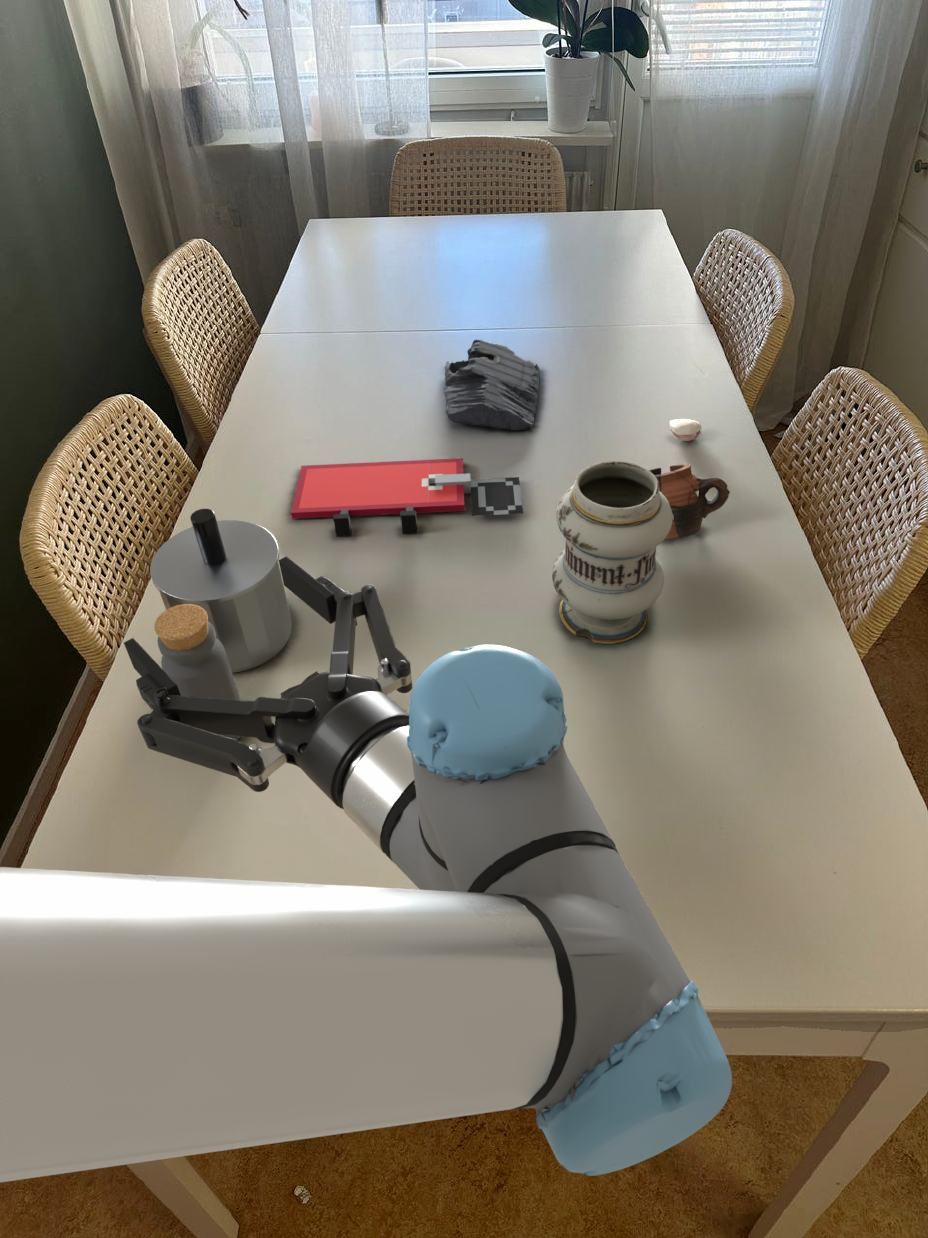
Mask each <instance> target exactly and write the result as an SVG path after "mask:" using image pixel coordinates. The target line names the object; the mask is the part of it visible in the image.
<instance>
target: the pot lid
mask: <svg viewBox="0 0 928 1238" xmlns="http://www.w3.org/2000/svg"><path fill="white" fill-rule="evenodd" d="M189 518H190V522H191V525H192V526H191V527H187V528H186V529H184V530H182V531H180V532H178V533H177V534H175V535H173V536H172V537H170V538H169V539H168V540H166V541H165V542H164V543H163V544H162V545H161V546H160V547H159V548H158V549H157V551H155V554H154V555H153V557H152V560H151V563H150V565H149V566H150V568H149V573H150V577H151V580H152V583H153V585H154V586H155V588H156V589H157V591H158V592H159V593H160V592H161V593H162V594H164V595H165V596H167V597H169V598H171V599H174V600H177V601H180V602H185V603H192V604H208V603H216V602H222V601H226V600H230V599H233V598H236V597H238V596H241V595H243V594H245V593H247V592H249V591H251V590H253V589H254V588H256V587H257V586H259V585H260V584H261V583H263V582H264V581H265V580H266V579H267V578H268V577H269V576H270V575H271V573H272V572H273V571H274V569H275V567H276V565H277V563H278V564H279V560H280V548H279V545H278V541H277V540H276V538H275V536H274V535H273V534H272V533H271V532H270V531H269V530H268V529H266V528H265V527H263V526H262V525H258V524H256V523H253V522H250V521H246V520H237V519H223V520H217V517H216V514H215V512H214V510H212V509H210V508H200V509H197V510H195V511H194V512H192V513H191V514H190V517H189Z"/></svg>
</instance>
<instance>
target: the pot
mask: <svg viewBox="0 0 928 1238" xmlns="http://www.w3.org/2000/svg"><path fill="white" fill-rule="evenodd" d="M159 594H160V597H161V599H162V603H163V605H164V608H165V611H166V610H167V609H169V608H171V607H174V606H177V605H182V604H192V603H185V602H180V601H177V600H174V599H171V598H169V597H167V596H165V595H164V594H162V593H161V592H160V591H159ZM194 605H198V606H200V607H202V608H203V609H204V610H205V611H206V613H207V615H208V621H209V622H210V623H211V624H212V626H213V627H214V630H215V633H216V639H218V640H219V641H220V642H221V643H222V645H223V647H224V649H225V652H226V655H227V658H228V661H229V664H230V667H231V671H232V674H234V673H240V672H241V673H242V672H244V671H245V672H246V671H248V670H252V669H254V668H257V667H259V666H261V665H263V664H266V663H267V662H268V661H270V660H271V659H273V658H275V657H276V656H277V655H278V654H279V653H280V652H281V651H282V650H283V649H284V648H285V646H286V645H287V644H288V642H289V640H290V638H291V634H292V630H293V629H292V628H293V622H292V619H291V612H290V608H289V603H288V600H287V595H286V591H285V586H284V583H283V578H282V574H281V569H280V565H279V562H278V563H277V565H276V567H275V569H274V571H273V572H272V573H271V575H270V576H269V577H268V578H267V579H266V580H265V581H264V582H263V583H261V584H260V585H259V586H257V587H256V588H254V589H253V590H251V591H249V592H247V593H245V594H243V595H241V596H238V597H236V598H233V599H230V600H226V601H222V602H216V603H208V604H194Z"/></svg>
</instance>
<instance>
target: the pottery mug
mask: <svg viewBox="0 0 928 1238" xmlns="http://www.w3.org/2000/svg"><path fill="white" fill-rule="evenodd" d="M648 470H649V471H650V472H652V473H653V474H654V475H655V476H656V478H657V480H658V482H659V489H660V492H661V493H662V494H663V495H664V496H665V497H666V499H667V500H668V502H669V504H670V507H671V510H672V515H673V521H672V526H671V529H670V532H669V533H668V535H667V537H666V538H665V539H664V540H663V541H665V540H666V541H667V540H668V541H669V540H674V539H679V538H683V537H689V536H692V535H695V534H697V533H698V532H700V531H701V528H702V527H701V526H702V524H703V523H702V522H703V519H706V517H707V516H709V514H712V513H714V512H716V511H718V510H719V509H721V508H722V507H723V506H724V505H725V503H726V502H727V501H728V499H729V496H730V493H731V492H730V490H729V488H728V484H727V482H726V481H725V480H724V479H722V478H720V477H719V476H718V477H717V476H711V477H699V476H696V475H695V474H693V472H692V465H691V464H689V463H688V464H675V465H670V466H669V471H668V472H663V473H662V467H655V468H653V469H648ZM712 489H716V495H715V496H714V497H713V498H712V499H711V500H709V499H707V497H706V495H707V493H708V492H709V491H710V490H712ZM697 492H698V494H697Z"/></svg>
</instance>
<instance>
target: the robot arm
mask: <svg viewBox="0 0 928 1238" xmlns="http://www.w3.org/2000/svg"><path fill="white" fill-rule="evenodd" d="M278 564H279V568H280V573H281V577H282V581H283V586H284V588H286V589H288V590H289V591H290V592H291V593H292V594H293V595H294V596H296V597H297V598H299V599H300V601H302V602H303V603H304V604H305V605H306V606H308V607H310V609H311V610H313V611H314V612H315V613H316V614H318V615H319V616H320V617H321V618H322V619H324V620H325V621H326V622H327V623H328V624H330V625H332V624H334V632H333V642H332V652H330V662H329V671H323V672H319V671H317V670H316V671H315V672H313V673H311V674H309V675H308V676H307V677H306V678H305V679H304V680H303V681H302V682H301V683H299V684H297V685H294V686H291V687H289V688H287V689H286V690H284V691H282V692H281V693H280V698H276V697H266V696H265V697H264V696H260V697H257V698H255V700H252V701H251V700H243V699H240V700H230V699H217V698H204V697H192V696H181V694H180V692H179V689H178V686H177V684H176V683H175V682H174V681H173V680H172V679H171V678H170V677H169V676H168V675H167V673H166V672H165V671H164V670H163V668H162V666H160V665H159V664H158V663H157V662H156V660H155V659H154V658H152V656H151V655H150V654H149V653H148V652H147V651H146V650H145V649H144V647H142V646H141V645H140V644H139V642H138V641H137V640H136V639H135V638H134V637H132V638H130V639H128V640H126V641H124V642H123V645H124V648H125V650H126V652H127V655H128V658H129V659H130V663H131V665H132V667H133V669H134V670H135V671H136V672H137V673H138V674H139V676H140V677H139V678H137V679H135V681H136V682H135V683H136V687H137V689H138V692H139V694H140V697H141V699H142V700H143V701H144V702H145V704H147V705H148V707H149V708H150V709H151V710H152V711H151V712H150V713H145V714H143V715H141V716H140V717H138V719H137V721H136V722H137V723H136V724H137V726H138V728H139V729H138V730H139V731H140V733H141V736H142V738H143V740H144V742H145V744H146V747H147V748H148V749H149V750H151V751H154V752H156V753H157V752H158V753H161V754H163V755H166V756H170V757H172V758H175V759H179V760H182V761H185V762H188V763H191V764H195V765H198V766H201V767H204V768H207V769H210V770H213V771H217V772H220V773H222V774H225V775H230V776H233V777H236V778H237V779H238V780H240V781H241V782H242V783H244V784H245V785H246V786H247V787H249V789H251V790H252V791H253V792H255V793H261V792H265V791H266V790H267V789H268V788H269V786H270V780H269V776H271V775H272V774H273V773H275V772H276V771H278V769H280V768H281V767H282V766H283V765H285V764H290V765H293V766H296V767H298V768H299V769H300V770H301V771H302V772H303V773H304V774H305V775H306V776H307V777H308V779H309V780H311V781H312V782H313V783H314V785H315V786H316V787H318V789H320V791H321V792H323V793H324V795H325V796H326V797H328V799H330V801H331V802H333V804H334V805H335V806H336V807H338V808H339V809H342V810H343V812H344V814H345V815H346V816H347V817H348V818H349V819H350V820H351V821H352V822H353V823H354V824H355V826H357V827H358V829H360V830H361V831H362V833H364V835H365V836H366V837H367V838H368V839H369V840H370V841H371V842H372V843H373V844H374V845H375V846H376V847H377V848H378V849H379V850H380V851H381V852H382V853H383V854H384V855H386V857H387V858H388V859H389V860H390V861H391V862H392V863H393V864H394V865H396V866H397V867H398V869H399V870H400V871H401V872H402V873H403V874H404V875H405V876H406V877H407V878H408V879H409V880H410V881H411V882H412V884H414V885H415V886H416V887H417V889H415V888H397V887H378V886H377V887H376V886H362V885H361V886H359V885H343V884H342V885H341V884H339V885H338V884H322V883H304V882H289V881H288V882H287V881H286V882H285V881H267V880H247V879H231V878H230V879H229V878H211V877H196V876H195V877H192V876H173V875H155V874H137V873H136V874H135V873H118V872H117V873H116V872H102V871H101V872H100V871H83V870H82V871H81V870H65V869H64V870H63V869H60V870H59V869H47V868H46V869H43V868H27V867H26V868H25V867H8V866H7V867H6V866H0V1183H6V1182H13V1181H21V1180H27V1179H34V1178H40V1177H48V1176H55V1175H62V1174H63V1175H64V1174H69V1173H75V1172H76V1173H77V1172H83V1171H90V1170H96V1169H104V1168H110V1167H111V1168H112V1167H118V1166H125V1165H132V1164H138V1163H145V1162H152V1161H159V1160H167V1159H173V1158H174V1159H175V1158H181V1157H187V1156H195V1155H202V1154H208V1153H216V1152H223V1151H230V1150H236V1149H243V1148H250V1147H258V1146H265V1145H271V1144H279V1143H285V1142H293V1141H301V1140H306V1139H314V1138H321V1137H327V1136H335V1135H341V1134H347V1133H355V1132H362V1131H368V1130H375V1129H384V1128H391V1127H396V1126H397V1127H398V1126H404V1125H411V1124H418V1123H424V1122H425V1123H426V1122H432V1121H439V1120H446V1119H452V1118H459V1117H461V1118H462V1117H466V1116H475V1115H480V1114H488V1113H495V1112H501V1111H508V1110H509V1111H510V1110H517V1109H535V1112H536V1118H535V1121H536V1124H537V1128H538V1129H540V1130H541V1131H542V1133H543V1134H544V1136H545V1139H546V1140H547V1142H548V1144H549V1147H550V1149H551V1151H552V1153H553V1155H554V1157H555V1159H556V1160H557V1162H558V1164H559V1165H561V1166H563V1167H564V1168H565V1170H567V1172H570V1173H574V1174H575V1173H576V1174H582V1175H586V1176H589V1177H592V1176H594V1177H596V1176H601V1175H606V1174H610V1173H613V1172H614V1173H615V1172H616V1171H620V1170H623V1169H627V1168H629V1167H632V1166H634V1165H637V1164H639V1163H642V1162H644V1161H646V1160H648V1159H651V1158H653V1157H655V1156H657V1155H659V1154H662V1153H663V1152H665V1151H667V1150H668V1149H671V1148H673V1147H674V1146H676V1145H678V1144H680V1143H682V1142H683V1141H684V1140H686V1139H688V1138H689V1137H691V1136H692V1135H694V1134H695V1133H697V1132H698V1131H699V1130H700V1129H702V1128H704V1127H705V1126H706V1125H707V1124H708V1123H709V1122H711V1121H712V1120H713V1119H714V1118H715V1117H716V1116H717V1115H719V1113H720V1112H721V1110H722V1109H723V1108H724V1107H725V1105H726V1104H727V1101H728V1100H729V1098H730V1095H731V1092H732V1087H733V1073H732V1069H731V1066H730V1062H729V1059H728V1057H727V1055H726V1053H725V1051H724V1049H723V1046H722V1043H721V1042H720V1040H719V1038H718V1036H717V1033H716V1032H715V1028H714V1027H713V1025H712V1022H711V1021H710V1019H709V1017H708V1014H707V1013H706V1010H705V1008H704V1006H703V1004H702V1002H701V1000H700V997H699V988H698V987H697V985H696V984H695V983H694V980H690V978H689V977H688V975H687V973H686V971H685V969H684V968H683V966H682V964H681V962H680V960H679V958H678V957H677V954H676V953H675V951H674V949H673V948H672V946H671V944H670V942H669V940H668V939H667V937H666V935H665V934H664V932H663V930H662V928H661V926H660V925H659V923H658V921H657V919H656V917H655V916H654V914H653V912H652V911H651V908H650V907H649V905H648V903H647V901H646V900H645V897H644V896H643V894H642V893H641V891H640V888H639V887H638V885H637V883H636V881H635V880H634V878H633V876H632V874H631V872H630V871H629V869H628V867H627V866H626V864H625V862H624V860H623V858H622V856H621V855H620V852H619V851H618V849H617V847H616V844H615V842H614V840H613V839H612V836H611V834H610V833H609V831H608V829H607V826H606V825H605V824H604V822H603V819H602V818H601V815H600V814H599V812H598V810H597V809H596V807H595V805H594V803H593V801H592V799H591V797H590V796H589V793H588V791H587V789H586V788H585V786H584V784H583V782H582V781H581V779H580V777H579V775H578V774H577V771H576V769H575V768H574V766H573V764H572V763H571V760H570V758H569V757H568V754H567V752H566V750H565V746H564V740H565V736H566V734H567V731H568V725H567V716H566V714H565V705H564V704H565V703H564V694H563V691H562V688H561V685H560V683H559V681H558V679H557V677H556V675H554V673H553V672H552V670H551V669H550V668H549V667H548V666H547V665H545V663H543V662H542V661H541V660H539V659H538V658H537V657H535V656H533V655H531V654H530V653H528V652H525V651H523V650H519V649H516V648H514V647H509V646H505V645H499V644H478V645H473V646H470V647H463V648H461V649H459V650H453V651H451V652H448V653H446V654H444V655H442V656H440V657H439V658H437V659H436V660H434V661H433V662H432V663H431V664H430V665H428V666H427V667H426V669H424V671H422V673H421V674H420V676H419V677H418V678H417V680H416V681H415V684H414V685H413V678H412V668H411V667H412V666H411V662H410V661H411V660H409V659H408V657H406V656H405V654H403V653H402V652H401V651H400V650H399V649H398V647H397V645H396V642H395V640H394V639H395V638H394V636H393V634H392V631H391V628H390V625H389V622H388V619H387V616H386V613H385V610H384V606H383V604H382V601H381V598H380V594H379V591H378V588H377V586H375V585H374V584H365V585H364V586H362V587H361V589H360V591H357V592H353V593H352V592H350V591H348V590H346V591H345V590H343V589H342V588H341V587H339V585H338V584H336V583H334V582H333V581H332V580H330V579H329V578H328V577H325V576H323V575H320V576H319V577H316V578H314V577H313V576H312V575H311V574H309V572H307V571H306V570H305V569H303V568H302V567H300V566H299V565H298V564H297V563H295V561H293V560H292V559H290V558H289V557H288V556H287V555H285V556H283V557H282V558H279V560H278ZM362 616H364V617H365V621H366V624H367V627H368V631H369V634H370V637H371V640H372V643H373V647H374V649H375V653H376V656H377V659H378V662H379V664H378V665H377V668H376V669H377V678H373V677H370V676H365V675H358V674H354V661H355V660H354V659H355V649H356V648H355V647H356V646H355V645H356V629H357V626H358V620H357V619H358V618H359V617H362ZM394 691H397V692H398V693H401V694H406V693H409V692H411V694H410V699H409V709H408V710H409V711H408V712H409V713H408V712H407V711H406V710H405V709H404V708H403V707H401V706H400V705H399V704H398V703H397V702H395V701H394V700H393V699H392V698H391V697H390V696H388V695H389V694H390V693H392V692H394ZM273 717H274V723H273V721H272V718H273ZM218 734H221V735H218ZM222 735H233V736H241V737H245V738H246V737H247V738H256V739H257V740H258V741H260V742H261V743H265V744H274V745H273V746H272V747H269V748H263V747H260V746H258V744H257V743H251V744H249V745H246V744H245V743H243V742H242V741H239V740H234V739H231V738H228V737H225V736H222Z"/></svg>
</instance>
